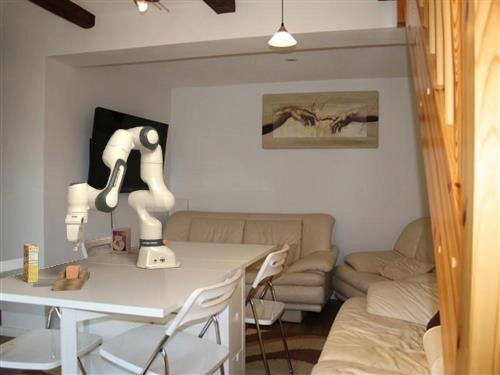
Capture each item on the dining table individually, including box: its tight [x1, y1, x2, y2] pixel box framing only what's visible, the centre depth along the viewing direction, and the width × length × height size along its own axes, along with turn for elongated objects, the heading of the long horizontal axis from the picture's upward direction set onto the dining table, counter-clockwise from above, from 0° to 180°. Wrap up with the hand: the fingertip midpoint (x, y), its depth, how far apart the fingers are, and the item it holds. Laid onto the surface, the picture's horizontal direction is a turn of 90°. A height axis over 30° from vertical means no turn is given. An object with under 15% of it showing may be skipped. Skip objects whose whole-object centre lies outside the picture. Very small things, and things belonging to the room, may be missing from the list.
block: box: [66, 265, 81, 279], centre depth 181 cm, size 4×4×4 cm
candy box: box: [22, 243, 40, 284], centre depth 184 cm, size 9×4×15 cm, turn 41°
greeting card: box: [111, 227, 132, 255], centre depth 264 cm, size 11×7×15 cm, turn 73°
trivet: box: [32, 277, 59, 288], centre depth 179 cm, size 9×9×1 cm
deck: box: [52, 265, 91, 292], centre depth 180 cm, size 10×24×6 cm, turn 12°
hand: (76, 250), depth 187 cm, fingers closed
